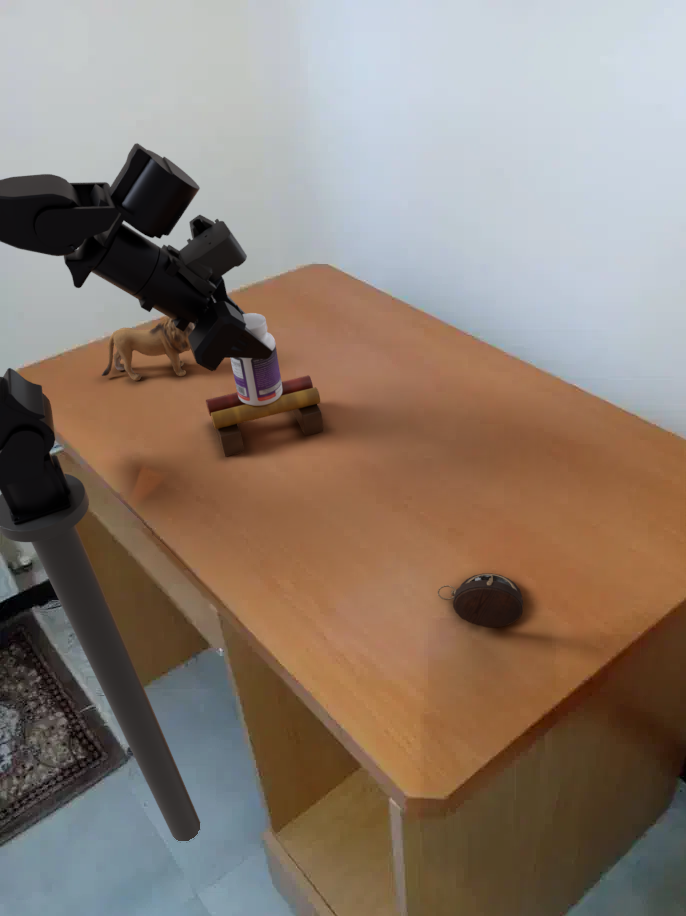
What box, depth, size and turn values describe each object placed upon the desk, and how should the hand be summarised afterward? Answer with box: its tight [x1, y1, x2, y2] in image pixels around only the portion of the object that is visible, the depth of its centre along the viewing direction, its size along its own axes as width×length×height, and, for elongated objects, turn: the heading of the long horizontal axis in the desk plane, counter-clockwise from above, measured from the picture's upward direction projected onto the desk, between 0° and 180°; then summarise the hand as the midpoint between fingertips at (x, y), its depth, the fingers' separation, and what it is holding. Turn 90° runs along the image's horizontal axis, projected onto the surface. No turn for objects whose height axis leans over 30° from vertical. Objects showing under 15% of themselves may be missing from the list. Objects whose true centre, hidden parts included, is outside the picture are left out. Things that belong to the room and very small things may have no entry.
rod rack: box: [205, 374, 325, 458], centre depth 97 cm, size 13×7×5 cm, turn 111°
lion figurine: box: [101, 316, 195, 382], centre depth 107 cm, size 15×5×9 cm, turn 103°
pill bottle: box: [229, 312, 282, 406], centre depth 92 cm, size 5×5×10 cm
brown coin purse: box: [437, 572, 524, 628], centre depth 73 cm, size 8×8×7 cm
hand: (263, 343), depth 91 cm, fingers closed on pill bottle, 5 cm apart
